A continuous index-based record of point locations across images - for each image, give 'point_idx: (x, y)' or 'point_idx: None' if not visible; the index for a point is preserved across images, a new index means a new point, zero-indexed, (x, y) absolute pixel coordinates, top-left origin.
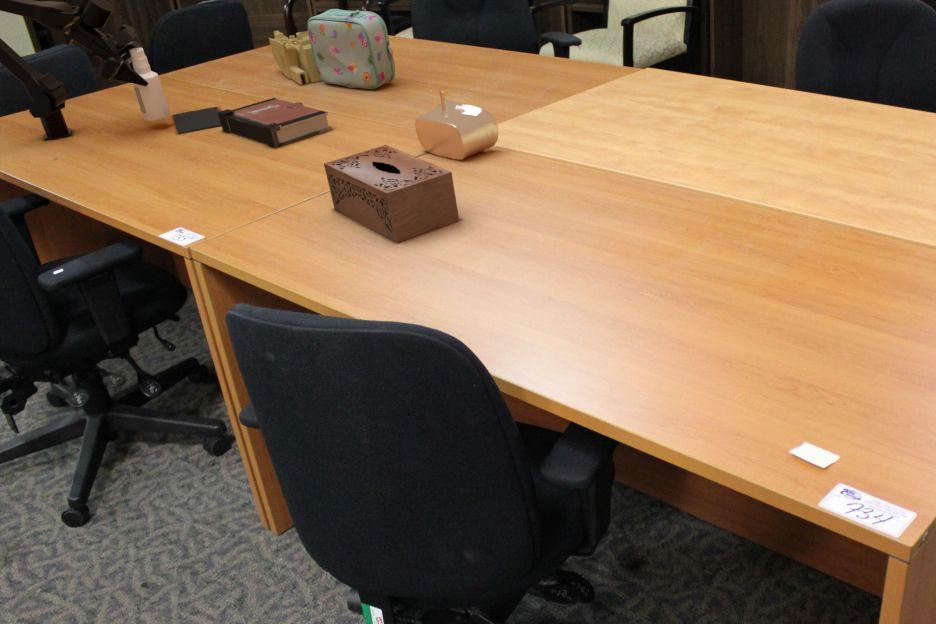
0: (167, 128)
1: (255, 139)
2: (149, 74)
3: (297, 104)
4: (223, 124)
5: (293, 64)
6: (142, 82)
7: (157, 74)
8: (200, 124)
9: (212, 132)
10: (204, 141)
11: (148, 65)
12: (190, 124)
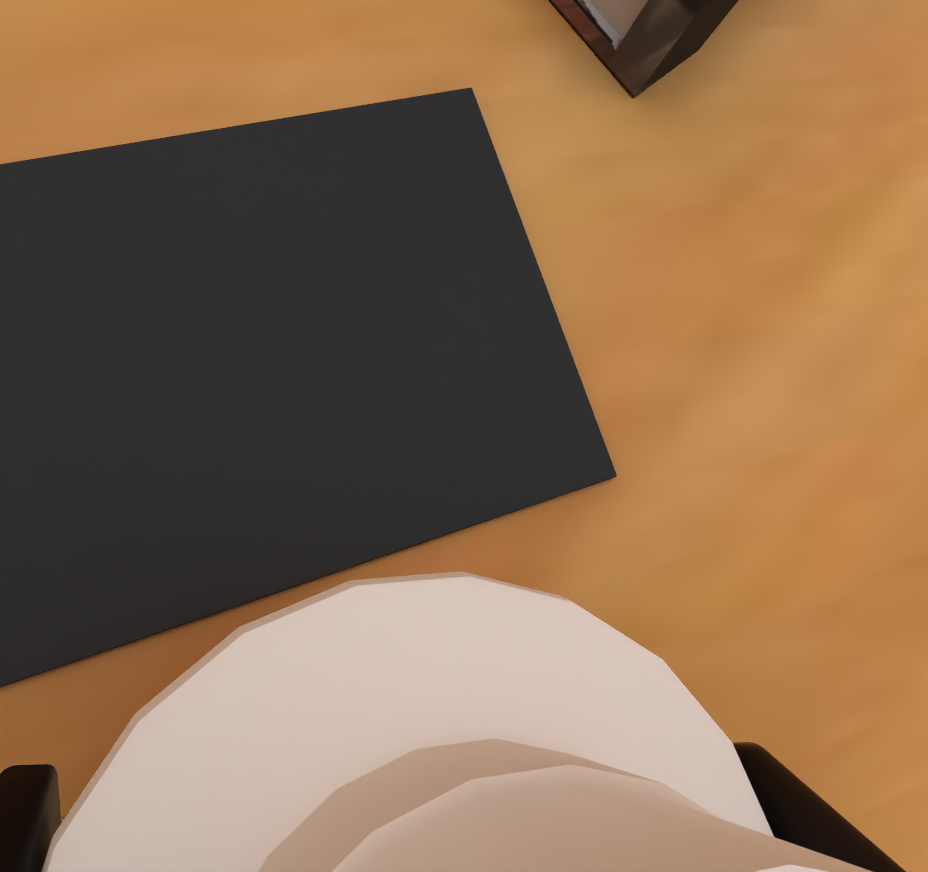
0: None
1: None
2: (634, 734)
3: None
4: (696, 34)
5: None
6: None
7: (387, 583)
8: (400, 306)
9: (641, 179)
10: (851, 214)
11: (584, 778)
12: (362, 411)
